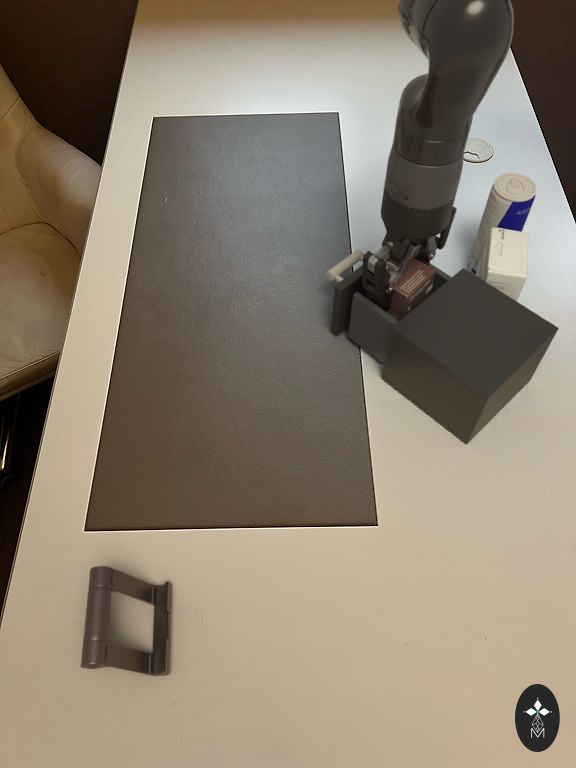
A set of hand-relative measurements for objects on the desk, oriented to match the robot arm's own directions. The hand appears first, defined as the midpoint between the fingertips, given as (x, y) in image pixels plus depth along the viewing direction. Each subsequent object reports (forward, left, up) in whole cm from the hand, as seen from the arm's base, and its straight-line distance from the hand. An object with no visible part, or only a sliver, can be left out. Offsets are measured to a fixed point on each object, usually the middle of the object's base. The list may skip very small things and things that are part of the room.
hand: (399, 292), depth 79 cm
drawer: (0, -1, -7) cm, 7 cm away
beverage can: (-19, +2, -8) cm, 21 cm away
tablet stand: (+49, +7, -8) cm, 50 cm away
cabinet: (0, +11, -8) cm, 14 cm away
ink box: (-12, +7, -8) cm, 16 cm away
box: (0, 0, -4) cm, 4 cm away
